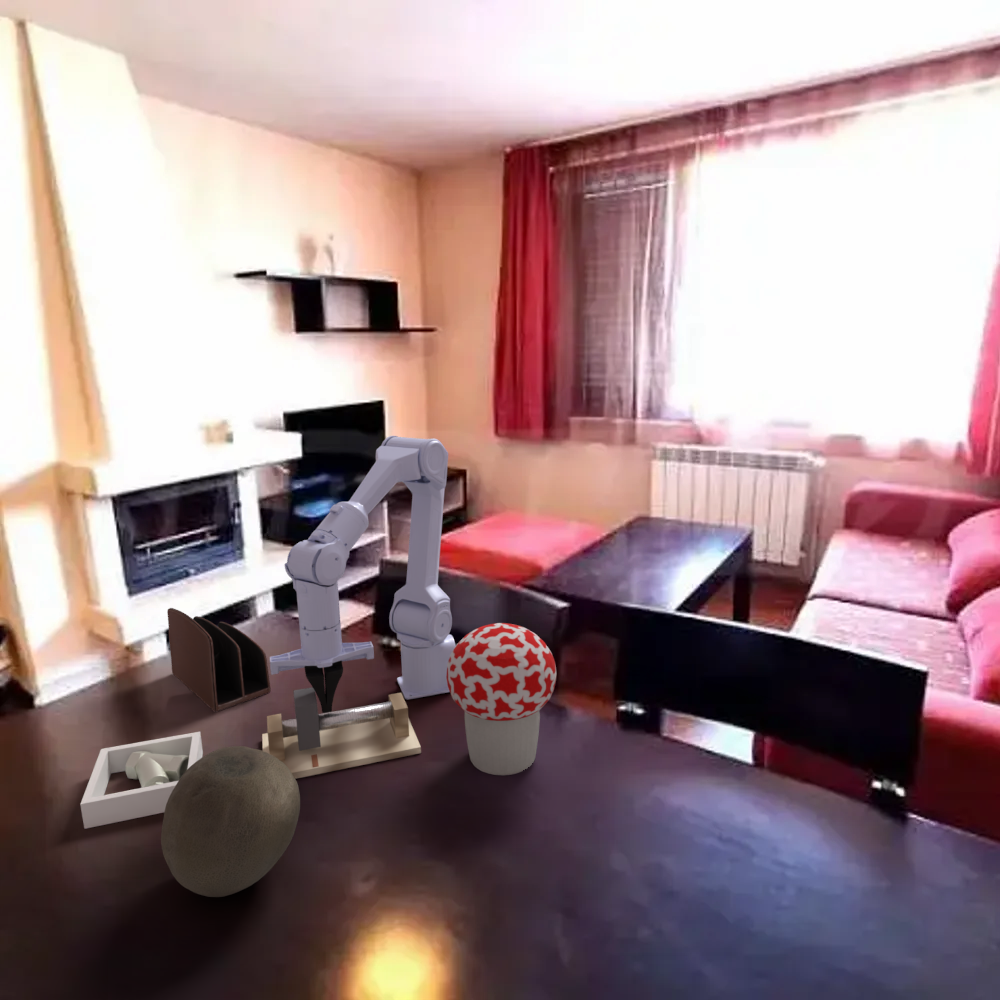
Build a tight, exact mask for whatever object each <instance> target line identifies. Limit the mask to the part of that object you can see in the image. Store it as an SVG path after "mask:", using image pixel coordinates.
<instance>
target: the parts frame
mask: <svg viewBox="0 0 1000 1000" xmlns="http://www.w3.org/2000/svg"><path fill="white" fill-rule="evenodd" d="M201 735H202V734H201V731H195V732H191V733H190V732H189V733H185V734H178V735H173V736H167V737H161V738H156V739H151V740H144V741H139V742H133V743H128V744H127V743H126V744H121V745H117V746H110V747H105V748H101V749H100V750H99V754H98V757H97V759H96V761H95V764H94V766H93V770H92V773H91V775H90V778H89V779H88V780H89V781H88V783H87V786H86V788H85V791H84V794H83V796H82V799H81V802H80V803H79V804H80V810H81V811H80V812H81V817H82V821H83V828H84V830H85V829H90V828H94V827H99V826H104V825H110V824H114V823H115V824H116V823H118V822H119V823H120V822H123V821H129V820H133V819H137V818H143V817H144V818H145V817H148V816H152V815H153V816H154V815H157V814H162V813H163V814H164V812H165V807H166V804H167V801H168V799H169V797H170V795H171V792H172V791H173V789H174V787H175V786H176V784H177V783H178V781H174V782H169V783H164V784H159V785H154V786H148V787H143V788H142V787H139V788H134V789H130V790H129V789H128V790H124V791H119V792H115V793H109V794H106V790H107V787H108V785H109V784H108V783H109V781H110V778H111V775H112V774H115V773H120V772H126V770H125V767H126V763H127V760H128V758H129V757H130V755H131V754H132V753H133V752H138V751H146V752H150V753H152V754H163V755H173V756H178V755H189V762H188V768H189V767H190V766H192V765H193V764H194V763H195V762H196V761H198V760H199V759H201V758H202V757H203V754H204V751H203V744H202V743H203V742H202V736H201ZM188 768H187V769H188Z"/></svg>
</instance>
